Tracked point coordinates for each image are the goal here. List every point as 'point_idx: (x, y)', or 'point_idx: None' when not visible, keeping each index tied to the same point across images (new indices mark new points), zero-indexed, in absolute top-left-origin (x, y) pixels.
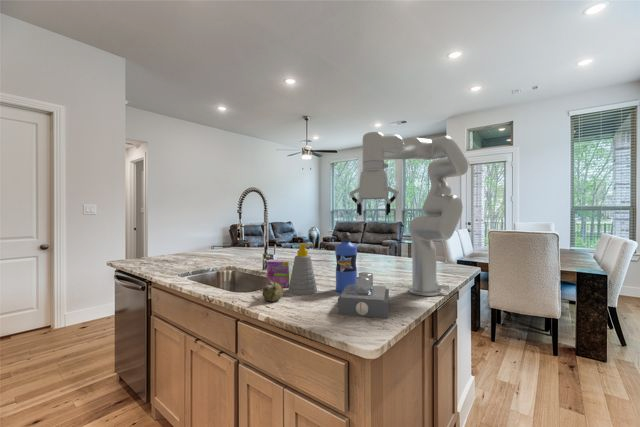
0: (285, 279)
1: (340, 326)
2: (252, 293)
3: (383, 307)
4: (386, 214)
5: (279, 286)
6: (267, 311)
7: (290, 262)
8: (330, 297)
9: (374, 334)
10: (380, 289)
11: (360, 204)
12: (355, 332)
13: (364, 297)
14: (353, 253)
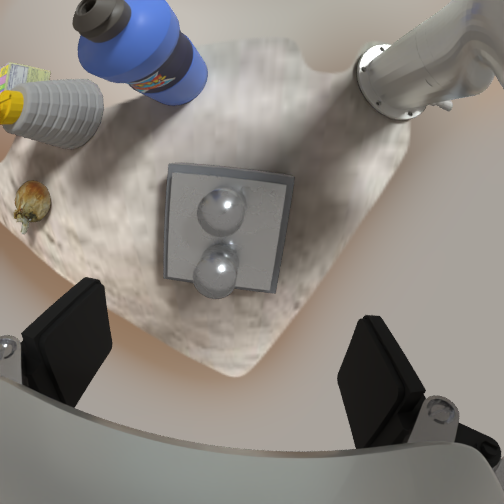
0: None
1: (188, 320)
2: (7, 164)
3: None
4: (339, 379)
5: (33, 201)
6: (60, 262)
7: (9, 78)
8: (140, 149)
9: (244, 343)
10: (266, 222)
11: (54, 390)
12: (214, 339)
13: None
14: (160, 63)
